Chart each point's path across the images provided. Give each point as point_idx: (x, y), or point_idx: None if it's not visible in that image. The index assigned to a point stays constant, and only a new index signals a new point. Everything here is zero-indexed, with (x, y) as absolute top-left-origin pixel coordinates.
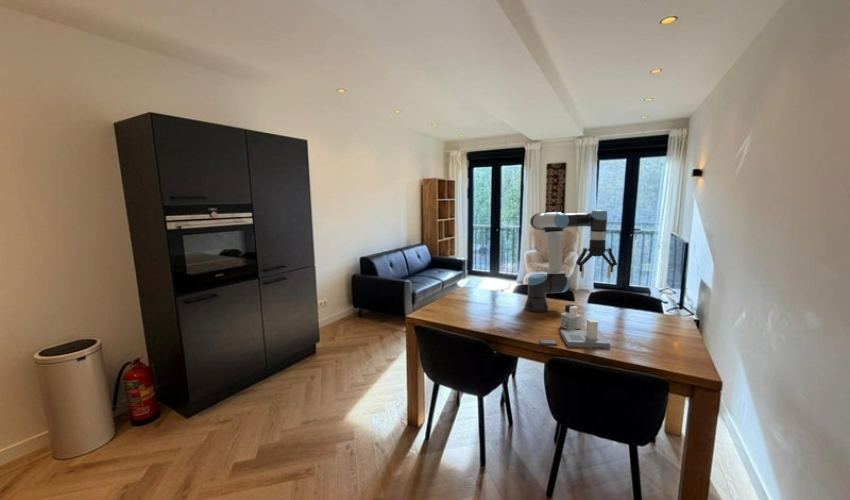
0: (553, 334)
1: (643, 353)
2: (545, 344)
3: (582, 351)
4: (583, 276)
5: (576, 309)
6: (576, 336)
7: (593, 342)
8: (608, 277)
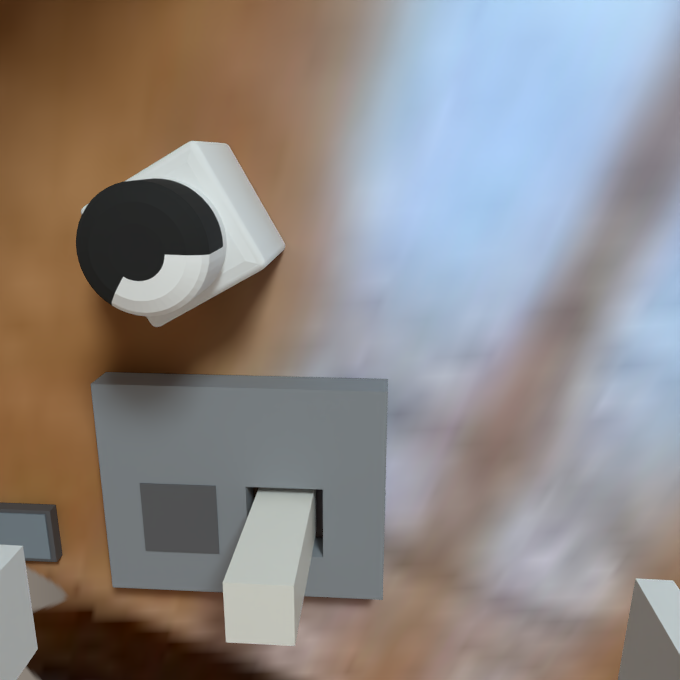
0: (55, 383)
1: (556, 635)
2: None
3: (200, 622)
4: (14, 676)
5: (191, 299)
6: (184, 506)
7: None
8: (627, 670)
